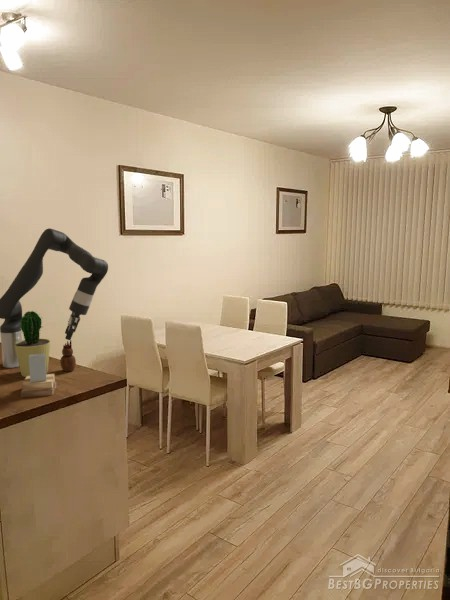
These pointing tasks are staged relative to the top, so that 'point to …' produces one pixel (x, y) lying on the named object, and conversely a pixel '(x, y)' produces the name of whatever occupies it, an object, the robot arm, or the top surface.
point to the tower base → (39, 392)
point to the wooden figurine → (67, 358)
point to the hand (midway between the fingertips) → (67, 336)
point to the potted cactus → (31, 342)
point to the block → (37, 367)
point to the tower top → (39, 383)
